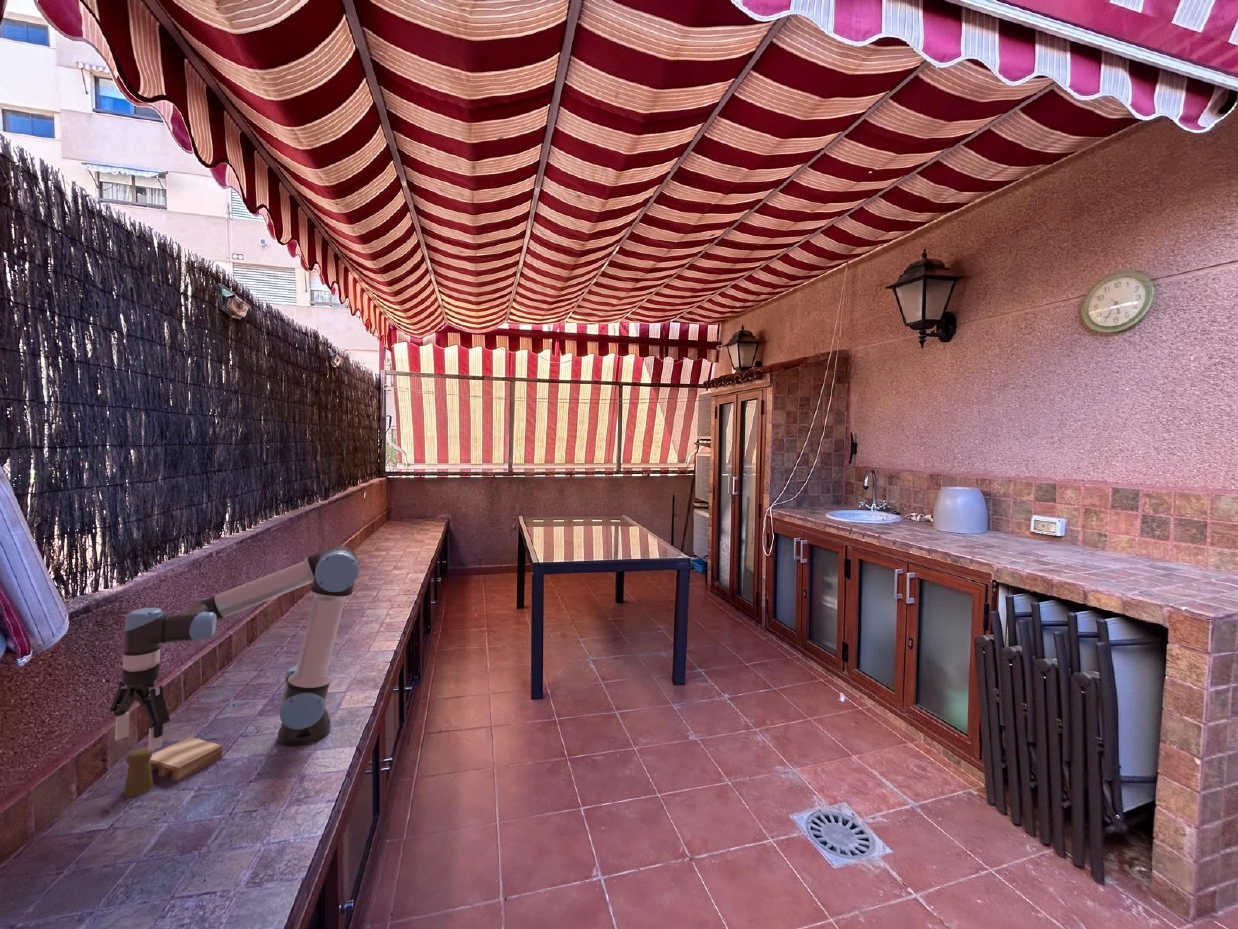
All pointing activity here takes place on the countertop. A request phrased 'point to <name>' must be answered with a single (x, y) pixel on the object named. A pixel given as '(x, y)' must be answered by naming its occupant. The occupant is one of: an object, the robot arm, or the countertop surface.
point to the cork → (138, 773)
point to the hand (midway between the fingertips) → (138, 743)
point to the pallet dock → (185, 758)
